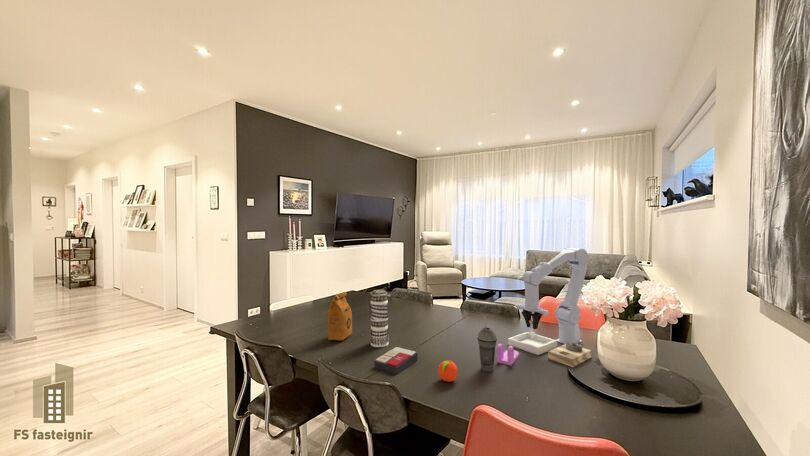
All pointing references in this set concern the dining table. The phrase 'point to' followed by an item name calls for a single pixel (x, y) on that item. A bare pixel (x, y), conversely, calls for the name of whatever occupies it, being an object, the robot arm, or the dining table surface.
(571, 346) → the block
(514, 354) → the bracket
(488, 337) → the beverage cup
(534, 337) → the pin
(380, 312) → the grey striped cylinder
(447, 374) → the clementine
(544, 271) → the robot arm
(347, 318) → the coffee package
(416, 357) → the flat product box
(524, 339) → the tray
